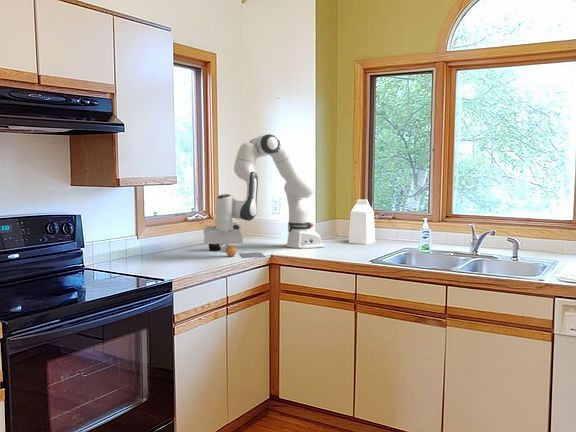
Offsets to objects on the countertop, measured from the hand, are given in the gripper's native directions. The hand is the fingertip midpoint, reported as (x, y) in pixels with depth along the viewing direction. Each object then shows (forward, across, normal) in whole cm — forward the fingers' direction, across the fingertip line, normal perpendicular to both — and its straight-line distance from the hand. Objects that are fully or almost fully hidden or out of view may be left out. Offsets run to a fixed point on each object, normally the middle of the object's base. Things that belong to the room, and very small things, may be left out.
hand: (223, 252), depth 285 cm
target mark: (+2, +15, 0) cm, 15 cm away
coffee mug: (+2, 0, +20) cm, 20 cm away
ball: (0, +4, 0) cm, 4 cm away
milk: (0, +88, +24) cm, 91 cm away
